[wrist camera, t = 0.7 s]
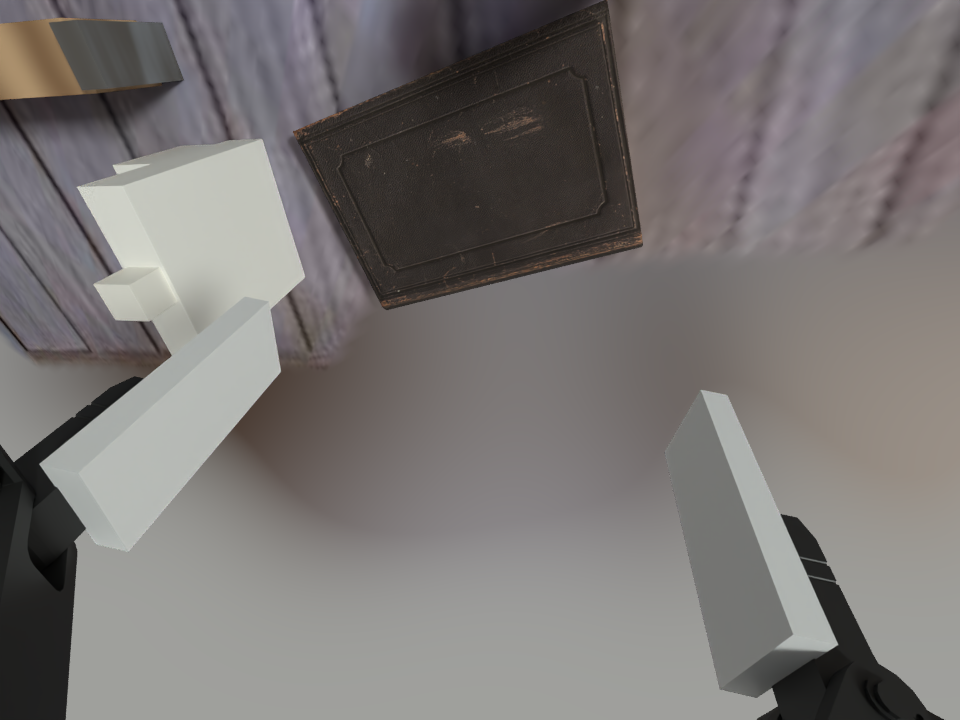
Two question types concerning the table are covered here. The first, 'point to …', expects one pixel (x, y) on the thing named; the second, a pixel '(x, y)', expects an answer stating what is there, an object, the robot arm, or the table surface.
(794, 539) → the robot arm
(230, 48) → the table surface
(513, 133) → the hardcover book
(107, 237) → the white block with nub
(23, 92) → the tan piece
